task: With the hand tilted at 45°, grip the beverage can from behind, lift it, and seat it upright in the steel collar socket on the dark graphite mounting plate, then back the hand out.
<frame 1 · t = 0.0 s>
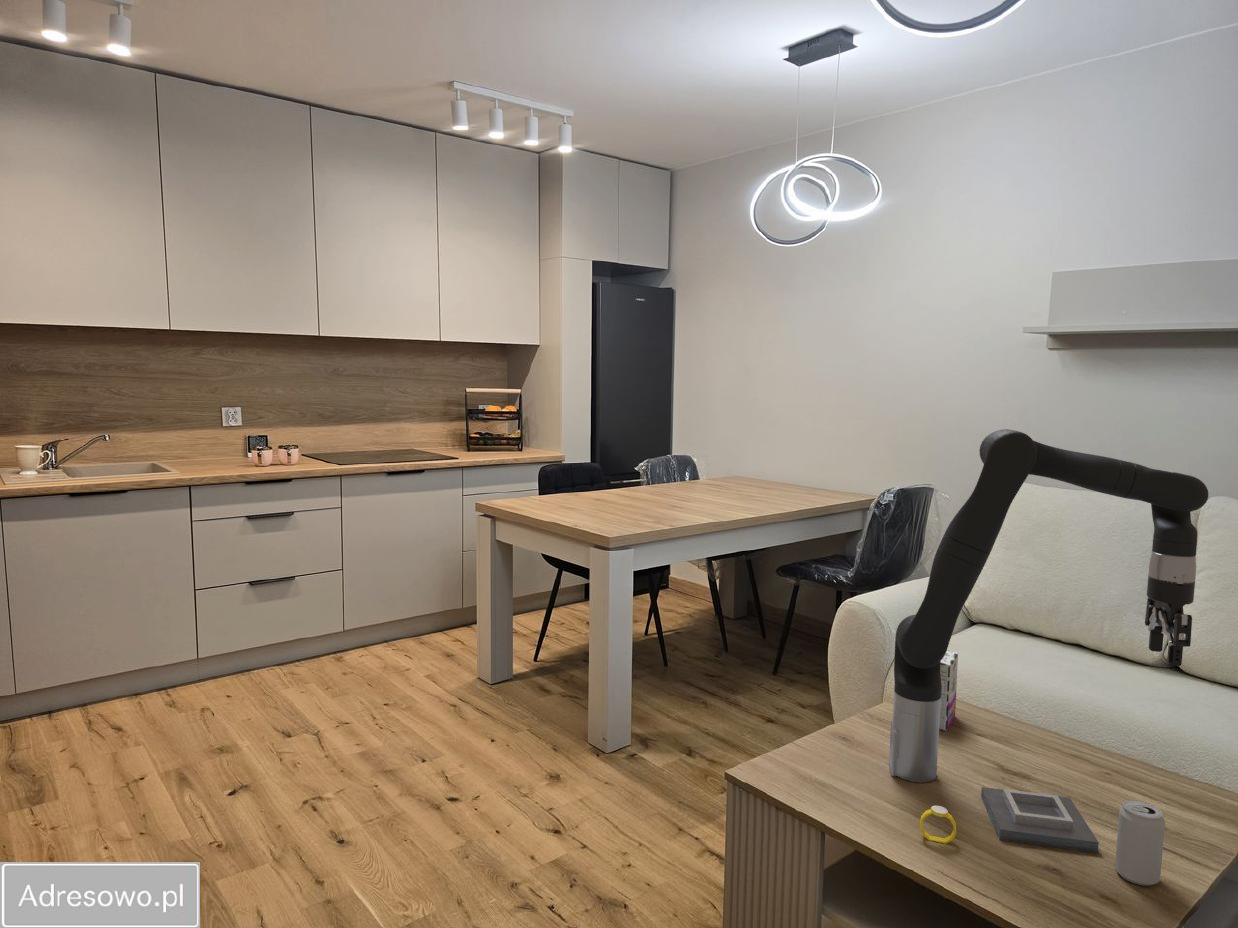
hand: (1164, 657, 158), 29 cm above the table, tool pointing down, fingers open, 8 cm apart
beverage can: (1136, 877, 135), on the table
candy bar box: (940, 722, 197), on the table
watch: (937, 841, 145), on the table
mounting plate: (1035, 822, 151), on the table
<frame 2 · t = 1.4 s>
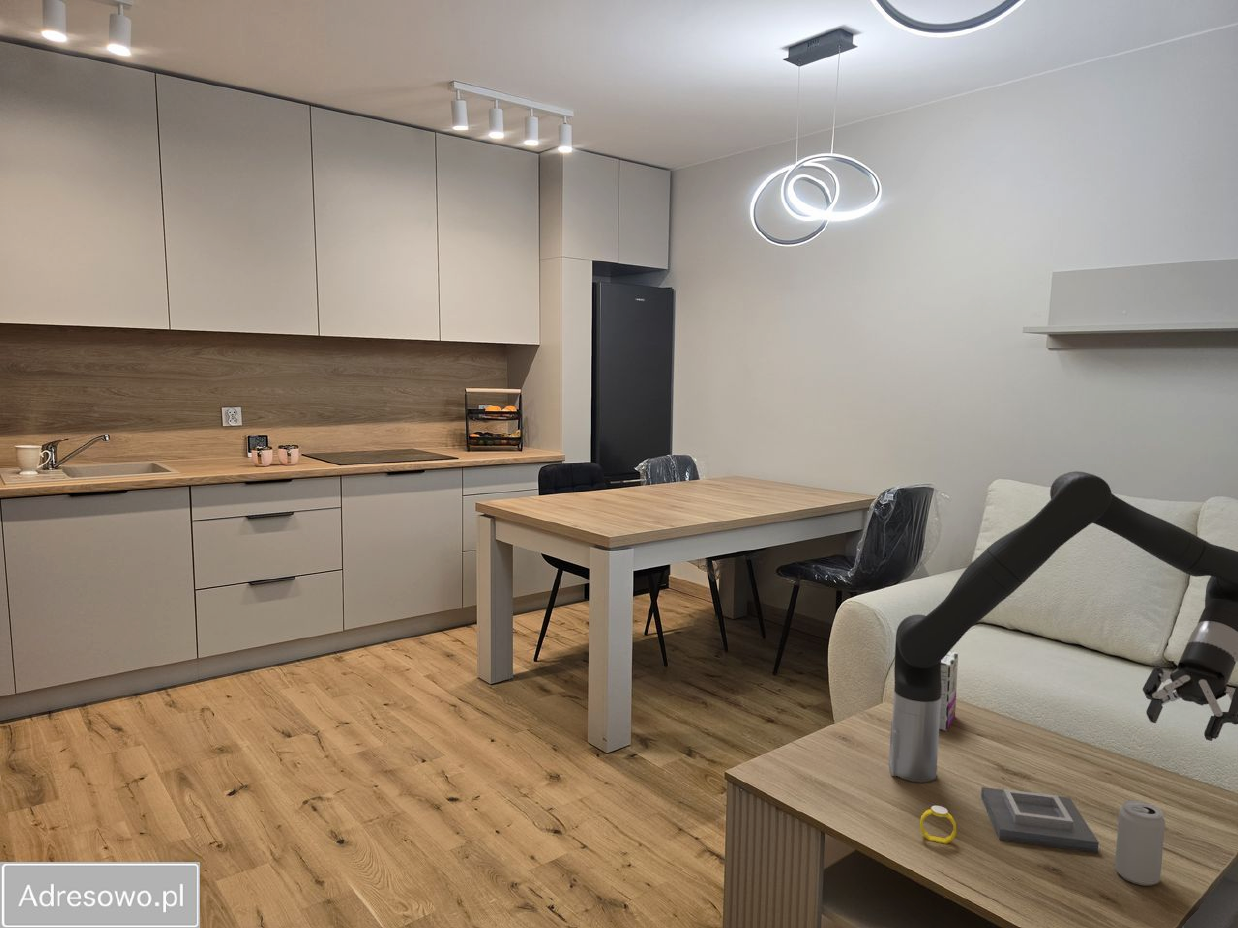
hand: (1179, 728, 140), 23 cm above the table, tool tilted 45°, fingers open, 8 cm apart
nothing on the table moved.
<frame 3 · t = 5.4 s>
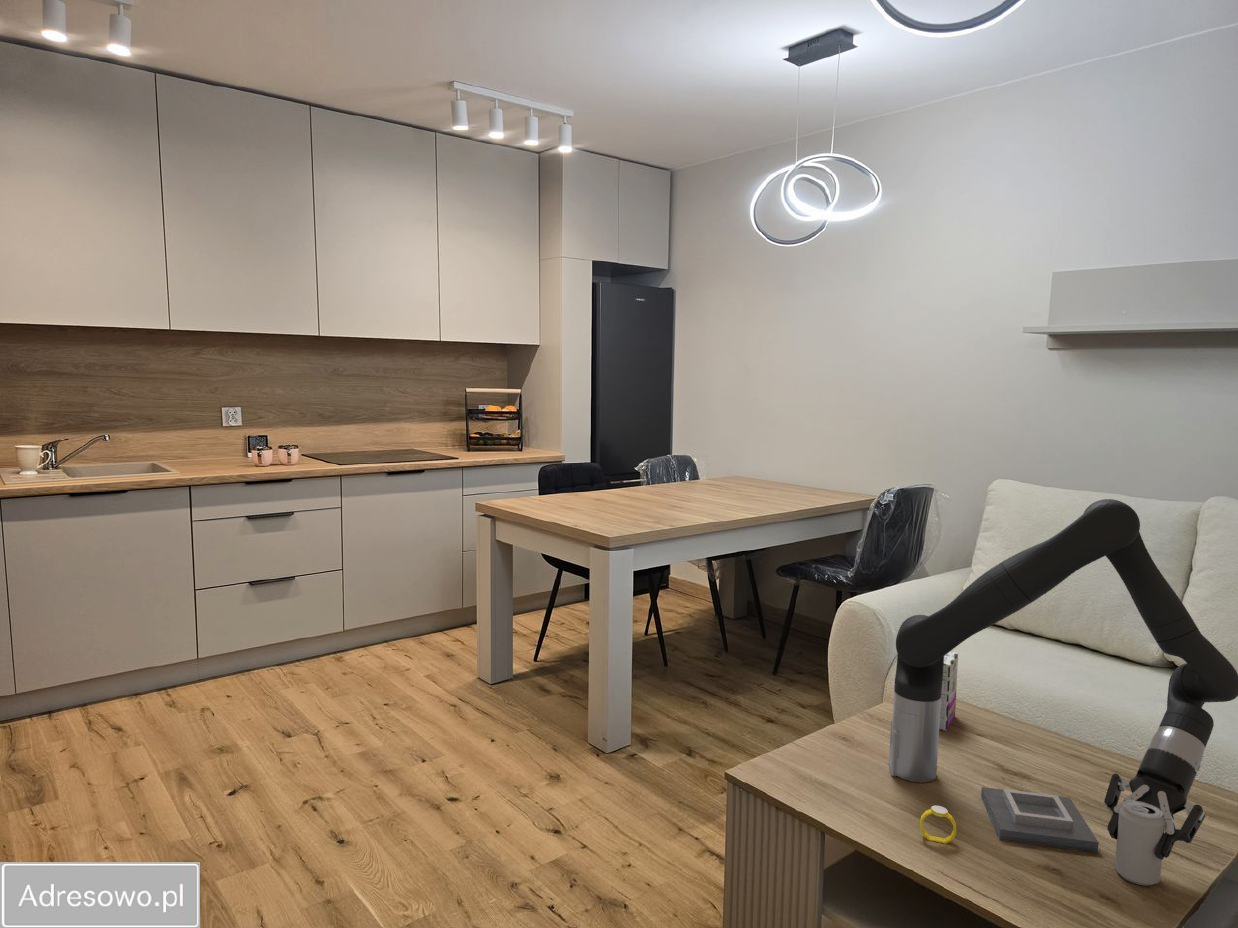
hand: (1135, 846, 133), 6 cm above the table, tool tilted 45°, fingers closed on beverage can, 6 cm apart
beverage can: (1136, 877, 135), on the table, touching gripper
everything else where it was.
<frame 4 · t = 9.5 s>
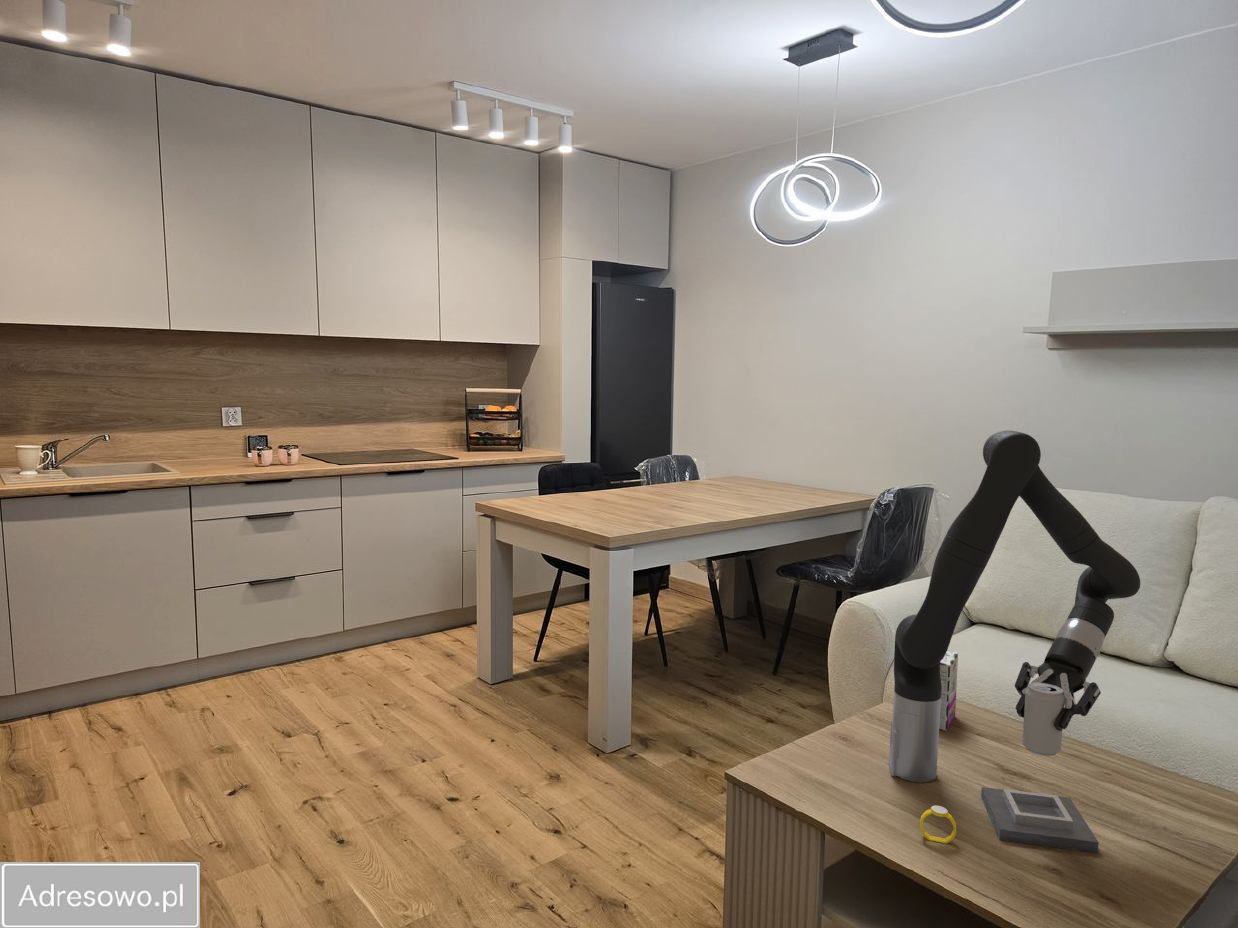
hand: (1038, 721, 148), 20 cm above the table, tool tilted 45°, fingers closed on beverage can, 6 cm apart
beverage can: (1040, 750, 150), point 14 cm above the table, touching gripper
everything else where it was.
when the fingers open (9 cm above the table, at t = 13.3 s): beverage can stays where it is, resting on mounting plate.
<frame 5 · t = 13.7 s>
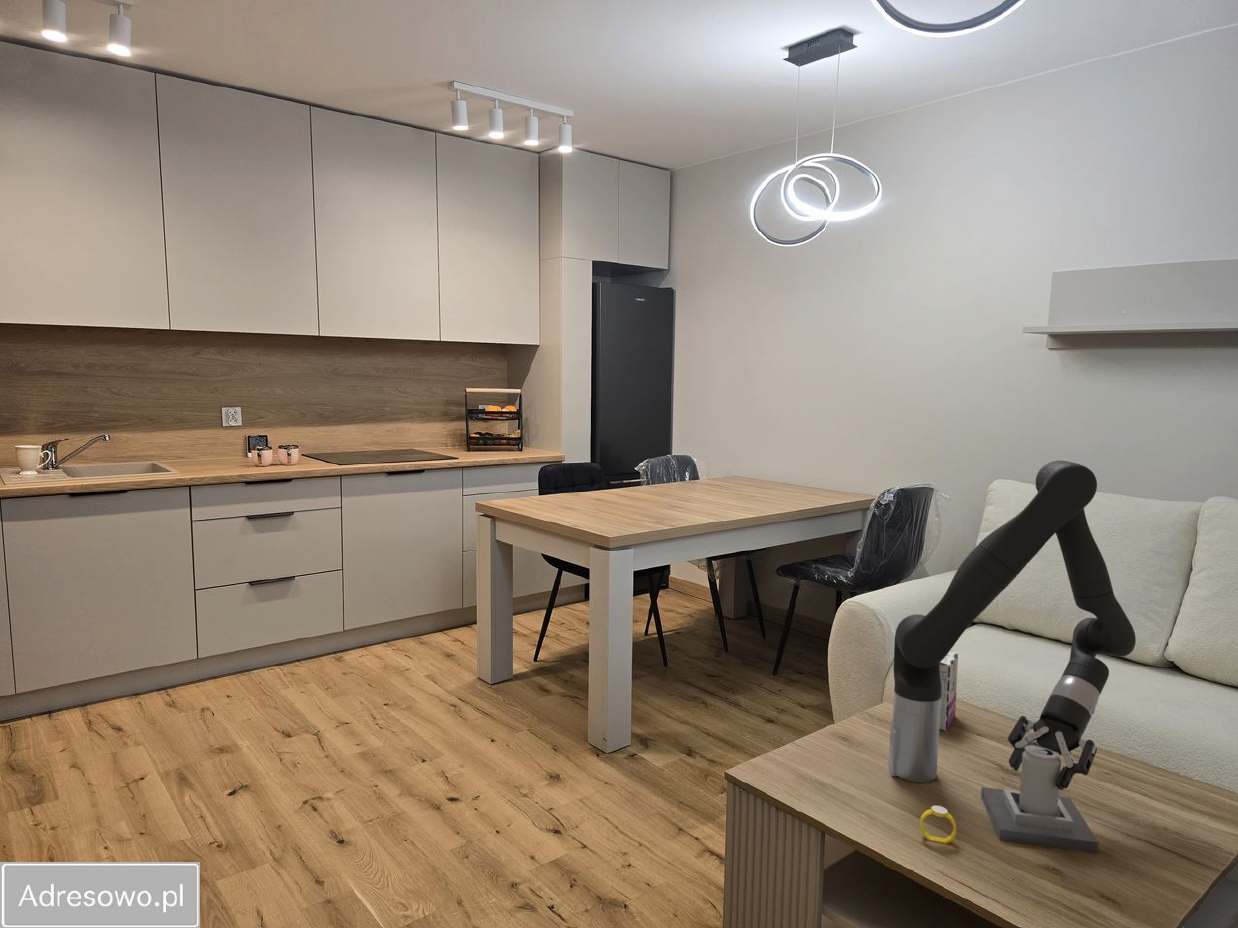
hand: (1035, 777, 150), 9 cm above the table, tool tilted 45°, fingers open, 8 cm apart
beverage can: (1037, 813, 151), point 2 cm above the table, touching mounting plate
everything else where it was.
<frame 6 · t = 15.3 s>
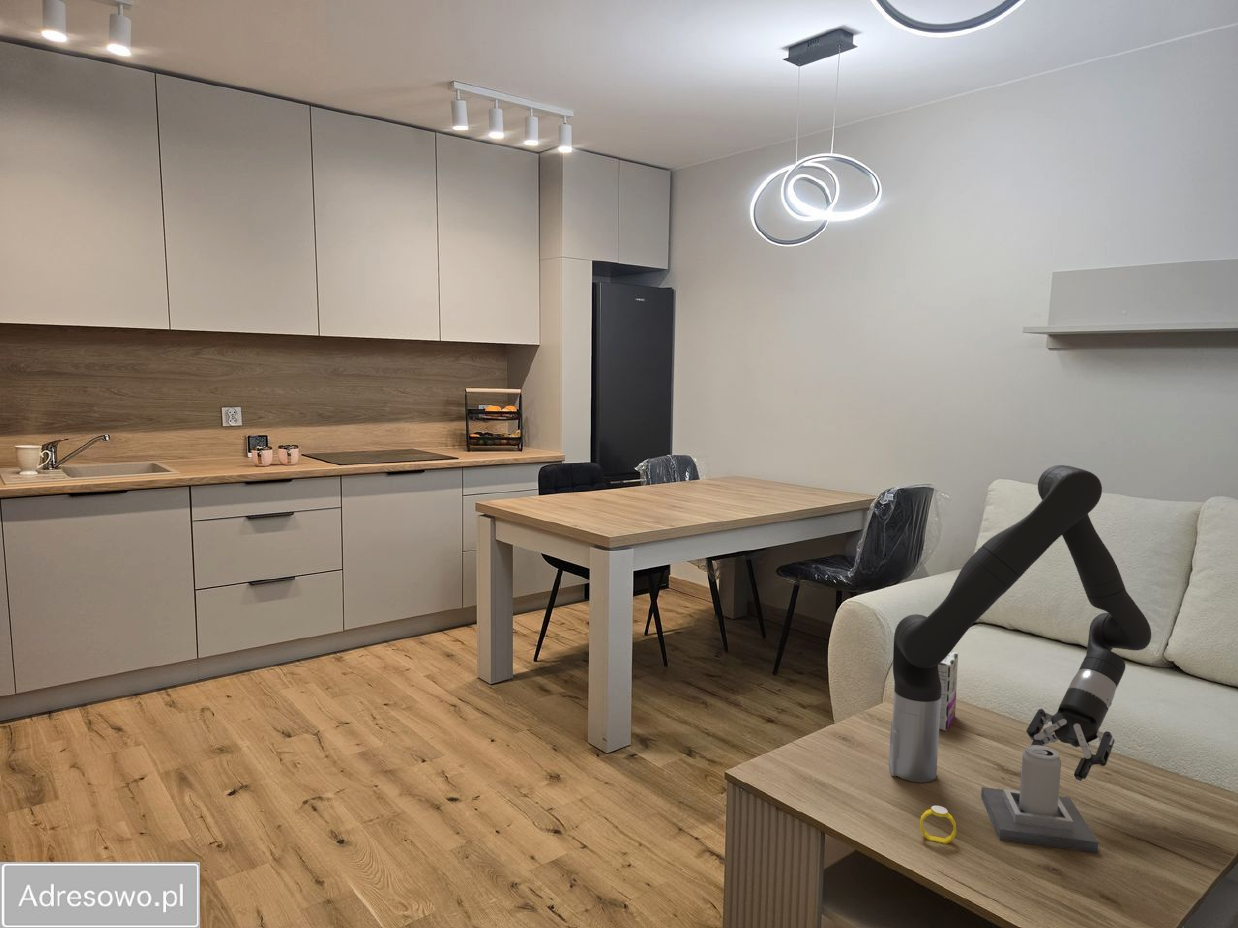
hand: (1054, 769, 153), 9 cm above the table, tool tilted 45°, fingers open, 8 cm apart
nothing on the table moved.
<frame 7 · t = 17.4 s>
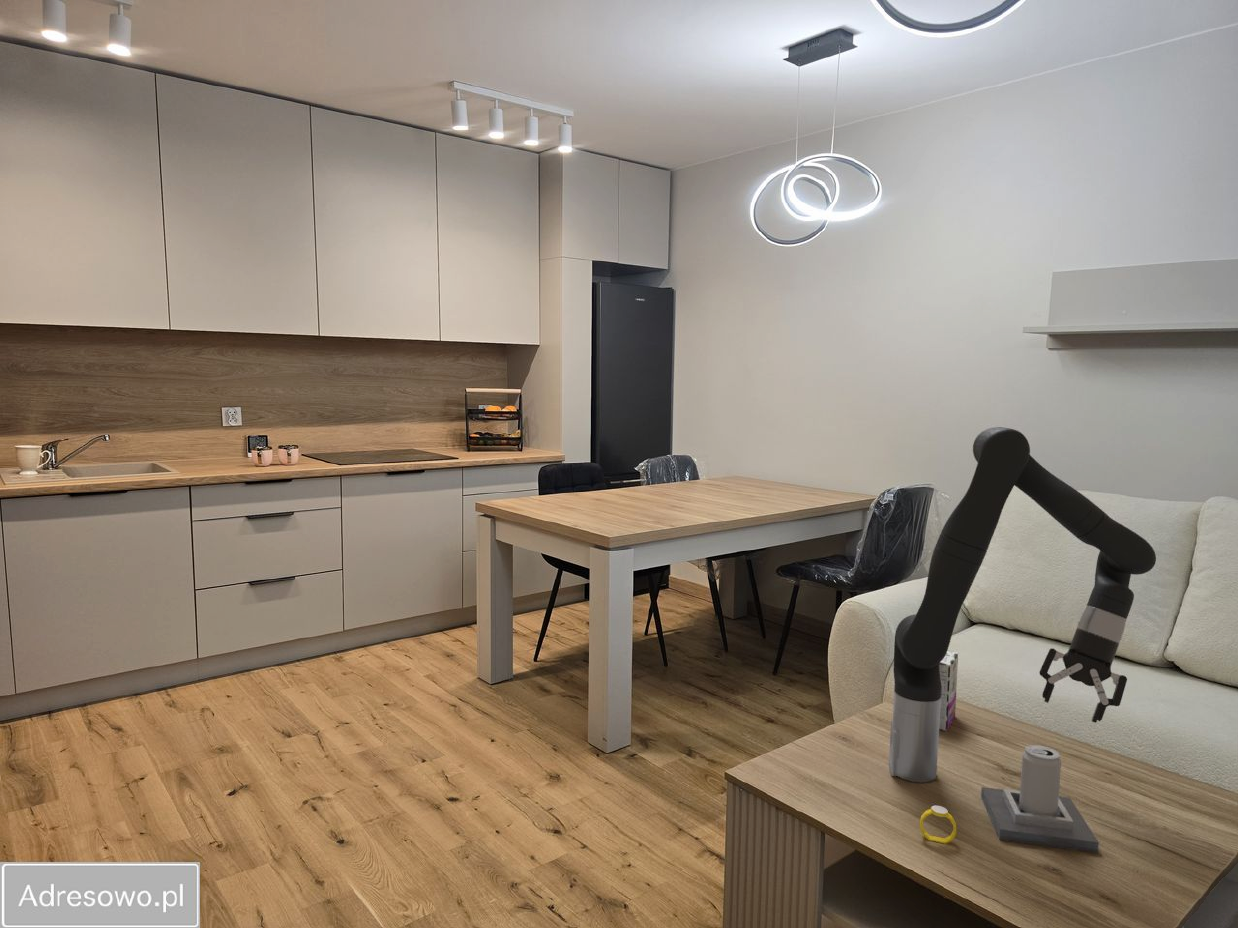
hand: (1069, 711, 158), 18 cm above the table, tool tilted 20°, fingers open, 8 cm apart
nothing on the table moved.
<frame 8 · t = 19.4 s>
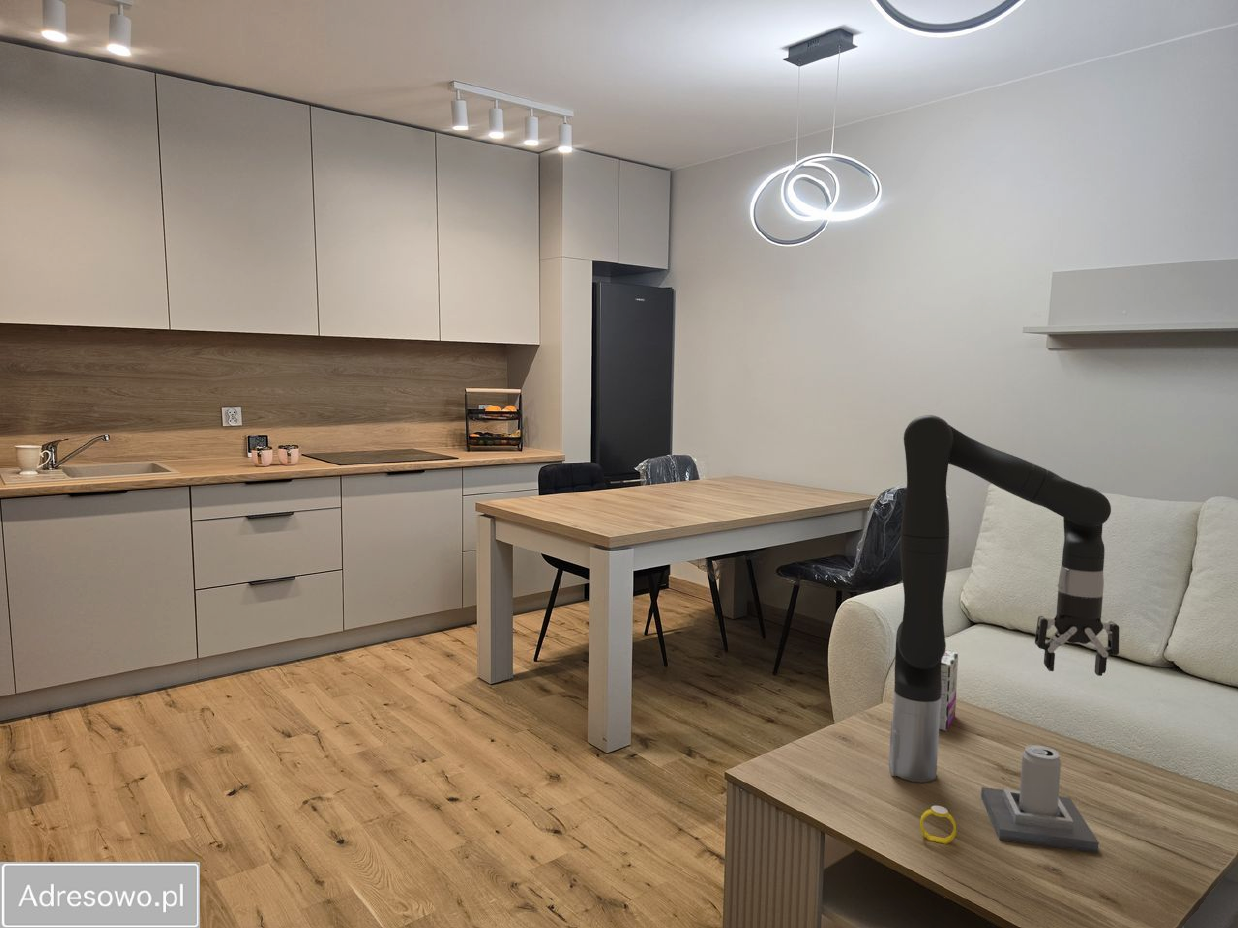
hand: (1074, 672, 158), 26 cm above the table, tool pointing down, fingers open, 8 cm apart
nothing on the table moved.
at the end: beverage can 0.3 cm off-centre on the mounting plate, point 1.8 cm above the mounting plate's base; beverage can tilted 0°; the gripper is holding nothing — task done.
